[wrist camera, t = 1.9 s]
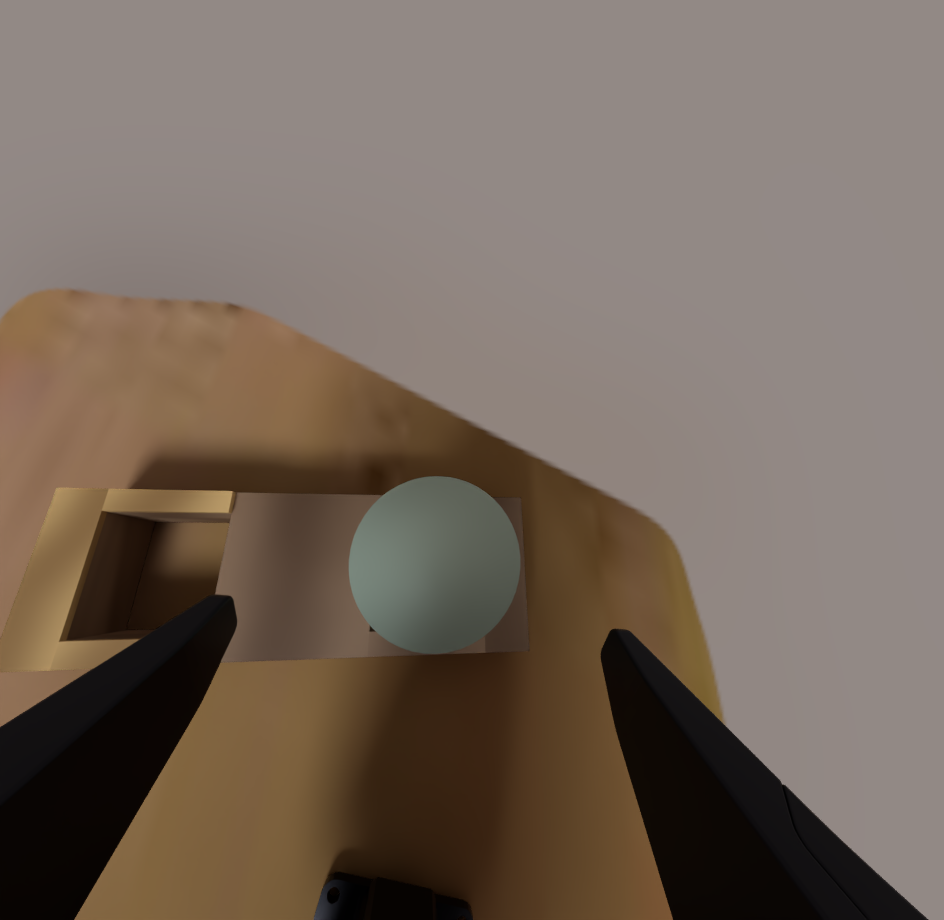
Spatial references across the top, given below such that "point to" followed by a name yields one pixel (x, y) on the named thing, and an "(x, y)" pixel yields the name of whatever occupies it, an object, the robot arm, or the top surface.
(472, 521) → the post
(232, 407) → the top surface
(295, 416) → the top surface
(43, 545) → the brown slotted board
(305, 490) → the top surface
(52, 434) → the top surface
